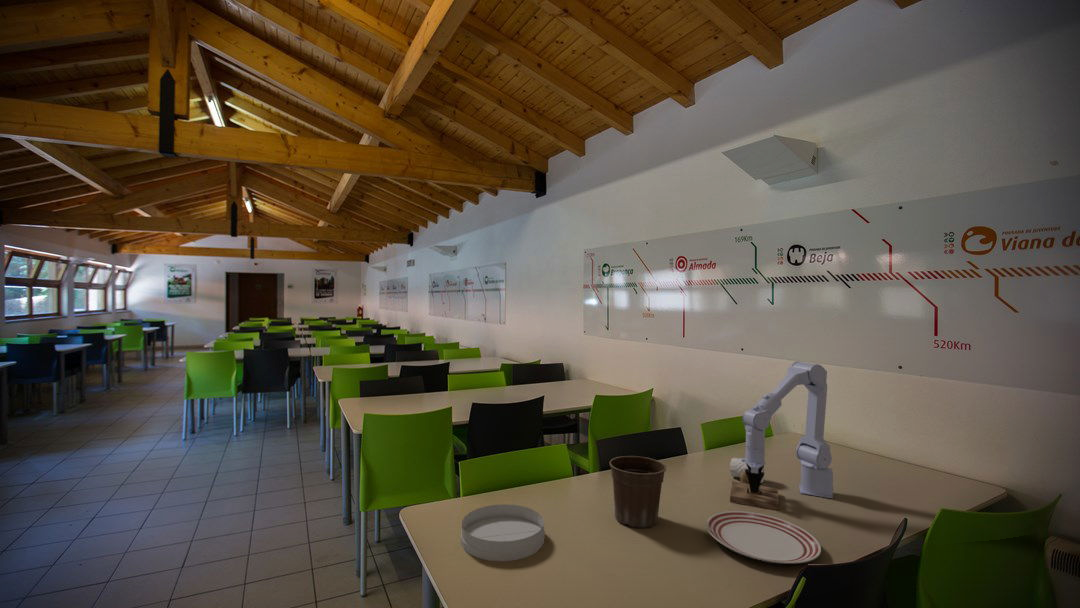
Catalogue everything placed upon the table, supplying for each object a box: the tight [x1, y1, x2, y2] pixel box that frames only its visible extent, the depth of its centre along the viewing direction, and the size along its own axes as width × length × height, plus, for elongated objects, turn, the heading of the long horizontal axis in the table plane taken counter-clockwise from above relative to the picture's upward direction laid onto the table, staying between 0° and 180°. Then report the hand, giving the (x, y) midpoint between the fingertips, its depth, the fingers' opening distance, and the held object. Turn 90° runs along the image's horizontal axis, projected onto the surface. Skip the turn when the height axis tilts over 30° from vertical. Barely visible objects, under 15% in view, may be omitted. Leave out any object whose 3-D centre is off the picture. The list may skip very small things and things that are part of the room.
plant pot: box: [609, 455, 667, 529], centre depth 142 cm, size 16×16×16 cm
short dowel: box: [740, 472, 749, 484], centre depth 171 cm, size 3×3×4 cm
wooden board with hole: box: [729, 481, 780, 511], centre depth 159 cm, size 14×14×2 cm
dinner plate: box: [705, 510, 822, 565], centre depth 128 cm, size 28×27×3 cm
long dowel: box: [749, 486, 760, 495], centre depth 159 cm, size 3×3×7 cm
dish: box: [460, 503, 546, 562], centre depth 128 cm, size 22×22×5 cm
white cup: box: [729, 457, 765, 484], centre depth 176 cm, size 8×8×10 cm
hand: (754, 488), depth 159 cm, fingers open, 7 cm apart
